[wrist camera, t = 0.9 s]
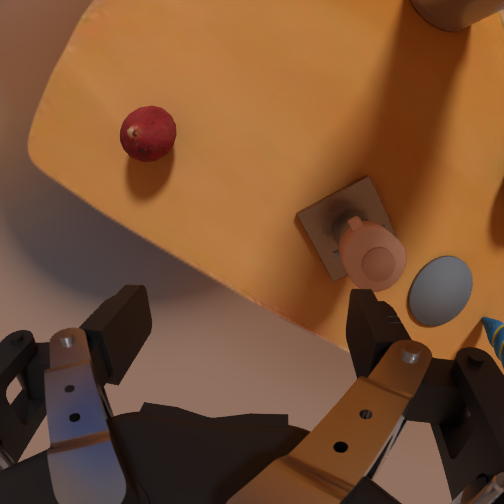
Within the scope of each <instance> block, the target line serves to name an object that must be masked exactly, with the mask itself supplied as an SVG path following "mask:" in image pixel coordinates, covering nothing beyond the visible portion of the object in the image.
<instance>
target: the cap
mask: <svg viewBox="0 0 504 504" xmlns="http://www.w3.org/2000/svg"><path fill="white" fill-rule="evenodd" d="M347 222H348V224H349V226H350V227H349V228H348V229H347V230H346V231H345V233H344V234H343V236H342V238H341V240H340V243H339V255H340V259H341V261H342V263H343V265H344V267H345V269H346V271H347V272H348V274H349V276H350V278H351V280H352V282H353V283H354V284H355V285H356V286H357V287H359V288H360V289H371V290H372V291H373V292H378V291H382V290H385V289H387V288H389V287H391V286H392V285H393V284H395V283H396V282H397V281H398V279H399V278H400V277H401V275H402V273H403V271H404V268H405V265H406V253H405V249H404V247H403V245H402V243H401V242H400V241H399V240H398V239H397V238H396V237H395V236H394V235H392V234H391V233H390V232H389V231H388V230H387V229H385V228H384V227H383V226H382V225H380V224H379V223H376V222H374V221H361V220H360V218H359V217H358V216H355V217H353V218H352V219H350V220H348V221H347Z"/></svg>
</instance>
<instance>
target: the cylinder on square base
mask: <svg viewBox="0 0 504 504" xmlns="http://www.w3.org/2000/svg"><path fill="white" fill-rule="evenodd" d="M297 215H298V217H299V219H300V221H301V223H302V224H303V226H304V228H305V230H306V232H307V233H308V235H309V237H310V239H311V241H312V243H313V244H314V246H315V248H316V250H317V252H318V254H319V256H320V257H321V259H322V261H323V263H324V265H325V267H326V269H327V271H328V273H329V274H330V276H331V278H332V280H333V282H334V281H336V280H338V279H340V278H342V277H344V276H346V275H348V272H347V271H346V269H345V267H344V265H343V263H342V261H341V259H340V255H339V243H340V240H341V238H342V236H343V234H344V233H345V231H346V230H347V229H348V228H349V227H350V226H349V224H348V222H347V221H348V220H350V219H352V218H353V217H355V216H358V217H359V218H360V220H361V221H374V222H376V223H379V224H380V225H382V226H383V227H384V228H385V229H387V230H388V231H389V232H390V233H391V234H392V235H394V236H395V237H396V234H395V232H394V230H393V227H392V225H391V222H390V220H389V218H388V216H387V213H386V211H385V209H384V207H383V204H382V202H381V200H380V198H379V196H378V193H377V191H376V189H375V187H374V185H373V183H372V181H371V179H370V177H369V176H368V175H366V176H364V177H363V178H361V179H359V180H357V181H355V182H353V183H351V184H349V185H348V186H346V187H344V188H342V189H340V190H338V191H336V192H335V193H333V194H331V195H329V196H327V197H325V198H323V199H322V200H320V201H318V202H316V203H314V204H312V205H310V206H309V207H307V208H305V209H303V210H301V211H299V212H297ZM396 238H397V237H396Z"/></svg>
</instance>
